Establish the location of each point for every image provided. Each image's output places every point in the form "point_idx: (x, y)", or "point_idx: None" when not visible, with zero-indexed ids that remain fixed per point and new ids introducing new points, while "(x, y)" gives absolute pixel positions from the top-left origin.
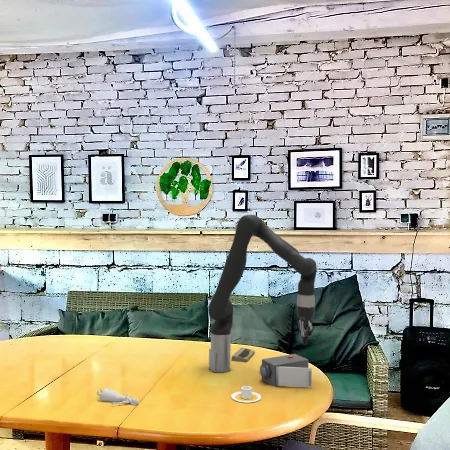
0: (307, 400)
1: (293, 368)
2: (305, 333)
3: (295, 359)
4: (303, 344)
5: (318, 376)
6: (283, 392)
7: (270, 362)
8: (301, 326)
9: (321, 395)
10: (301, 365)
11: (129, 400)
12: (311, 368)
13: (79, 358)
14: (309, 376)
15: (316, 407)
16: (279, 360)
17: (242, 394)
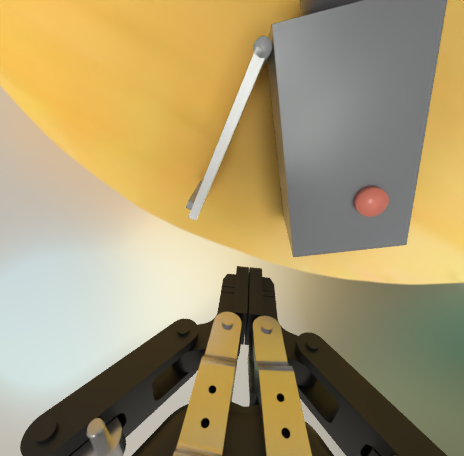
0: (101, 119)
1: (219, 139)
2: (170, 344)
3: (323, 206)
4: (237, 267)
5: (298, 258)
6: (189, 58)
7: (343, 20)
8: (263, 415)
9: (141, 187)
10: (287, 212)
11: None
12: (189, 217)
13: None
14: (193, 194)
15: (40, 120)
16: (350, 109)
17: None
